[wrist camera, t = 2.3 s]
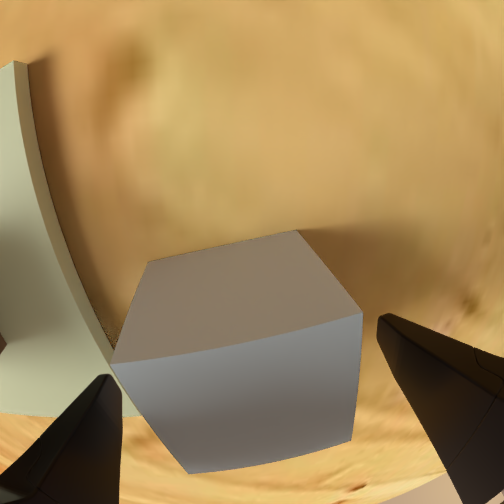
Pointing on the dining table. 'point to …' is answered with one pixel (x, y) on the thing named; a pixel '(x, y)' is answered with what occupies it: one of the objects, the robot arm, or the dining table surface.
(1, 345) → the walnut block
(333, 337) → the grey block
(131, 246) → the dining table surface
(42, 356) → the base board
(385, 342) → the robot arm
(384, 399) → the dining table surface
